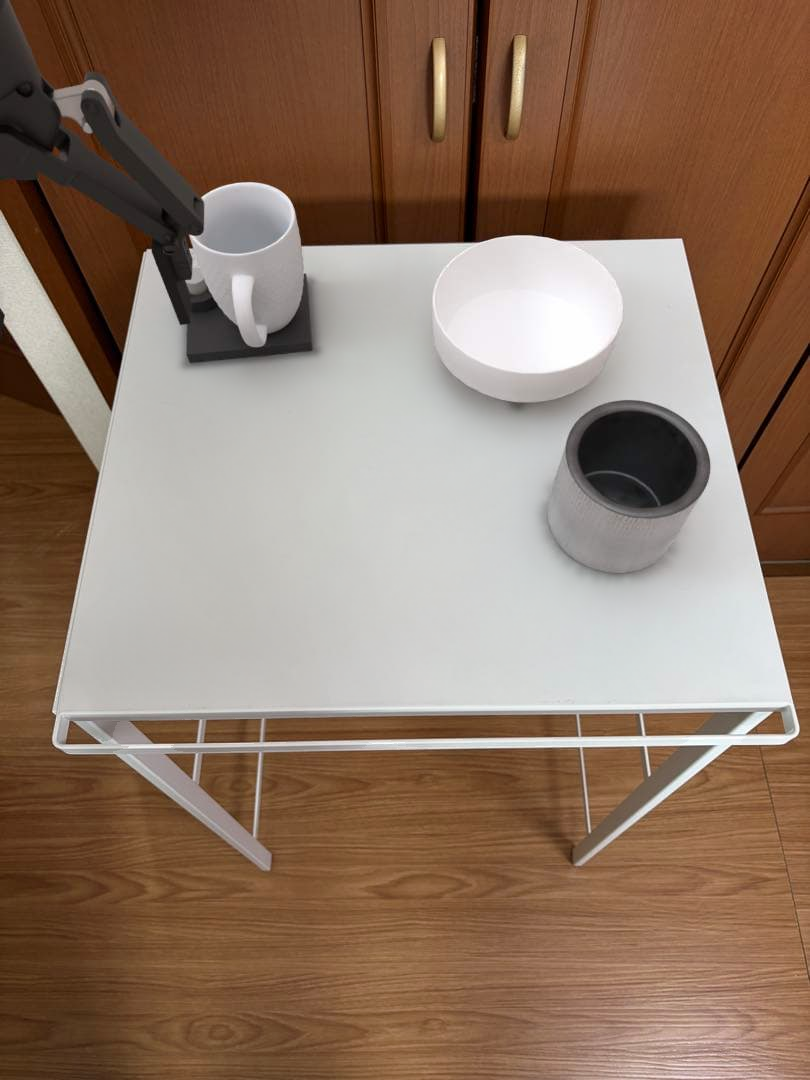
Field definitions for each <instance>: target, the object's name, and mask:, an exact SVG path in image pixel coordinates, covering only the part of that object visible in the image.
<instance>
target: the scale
mask: <svg viewBox="0 0 810 1080" xmlns="http://www.w3.org/2000/svg"><path fill="white" fill-rule="evenodd" d="M303 273H304V272H303ZM303 283H304V284H303V293H302V296H301V301H300V303H299V307H298V309H297V311H296V313H295V315H294V317H293V318H292V320H291V321H290V322H289V323H288V324H287V325H286V326H285V327H283V328H282V329H280V330H278V331H276V332H273V333H268V334H267V338H266V342H265V344H264V345H263V346H261V347H251V346H249V345H247V344H246V343H245V341H244V340H243V338H242V335H241V333H240V330H239V327H238V326H237V325H236V324H235V323H234V322H233V321H231V320H230V319H229V318H228V316H226V315H225V314H224V312H223V310H222V309H221V308H220V307H219V306H218V304H217V302H216V301H215V300H214V298H213V296H212V294H211V293H210V291H209V289H208V290H207V291H206V292H204V293H202V294H198V295H193V294H190V295H191V322H190V324H186V327H187V328H186V352H185V353H186V358H187V360H188V362H189V364H191V363H200V362H201V363H202V362H211V361H220V360H232V359H243V358H253V357H260V356H269V355H270V356H272V355H279V354H280V355H281V354H290V353H302V352H310V351H311V352H312V351H313V350H314V349H313V339H312V338H313V337H312V323H311V313H310V312H311V311H310V301H309V299H310V298H309V285H308V278H307V273H304V279H303Z"/></svg>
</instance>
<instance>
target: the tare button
mask: <svg viewBox="0 0 810 1080" xmlns="http://www.w3.org/2000/svg"><path fill="white" fill-rule="evenodd" d="M185 281H186V284H187V287H188V289H189V292H190V294H193V295H198V294H202V293H204V292H206V291H207V290H208V286H207V284H206V283H205V280H204V277H203V275H202V273H201V269H200V267H192V278H191V280H185Z"/></svg>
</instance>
